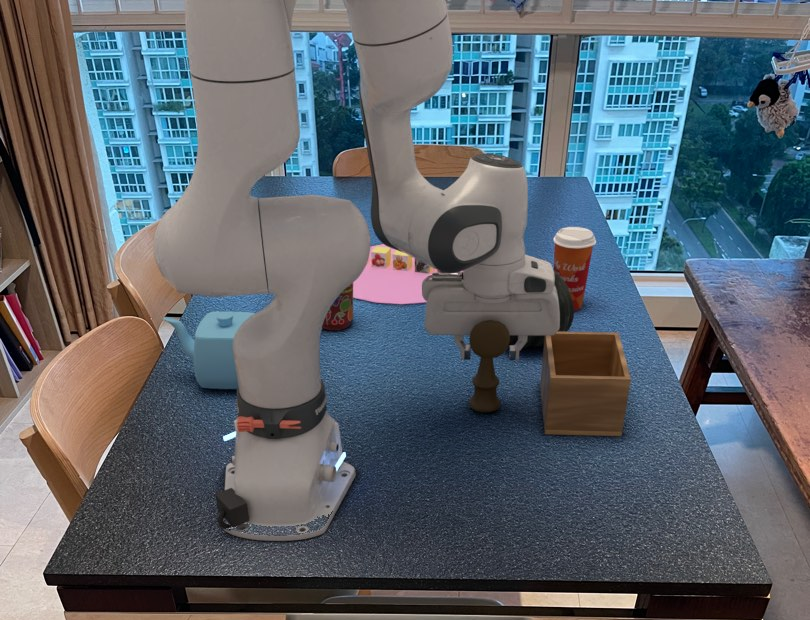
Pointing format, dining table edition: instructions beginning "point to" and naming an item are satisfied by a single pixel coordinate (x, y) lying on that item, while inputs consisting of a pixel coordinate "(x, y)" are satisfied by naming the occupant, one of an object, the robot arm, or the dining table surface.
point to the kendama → (487, 363)
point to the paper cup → (574, 260)
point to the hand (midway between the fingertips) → (490, 358)
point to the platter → (392, 277)
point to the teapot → (213, 348)
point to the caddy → (584, 384)
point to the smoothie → (340, 311)
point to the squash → (565, 314)
